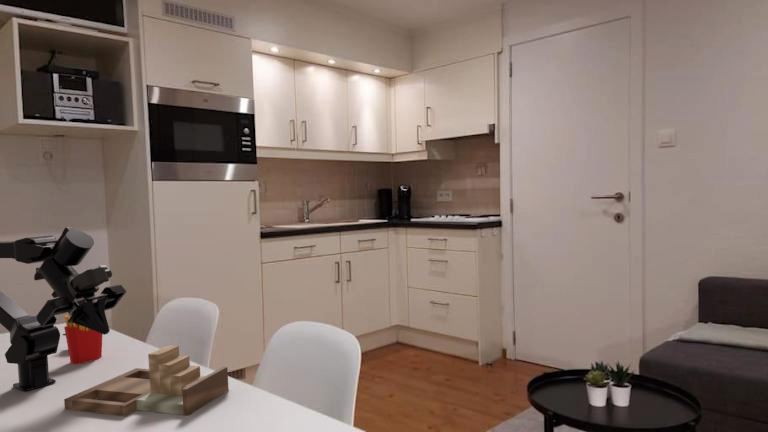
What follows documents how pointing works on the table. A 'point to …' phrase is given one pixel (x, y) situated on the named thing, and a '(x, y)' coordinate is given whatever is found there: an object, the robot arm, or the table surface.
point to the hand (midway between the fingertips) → (107, 332)
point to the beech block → (171, 371)
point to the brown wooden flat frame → (147, 395)
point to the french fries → (82, 343)
